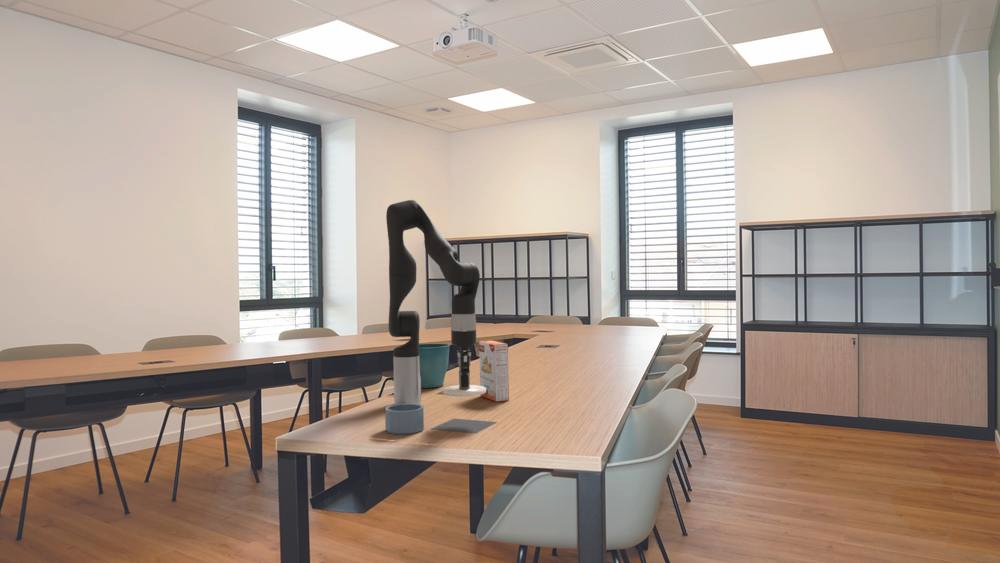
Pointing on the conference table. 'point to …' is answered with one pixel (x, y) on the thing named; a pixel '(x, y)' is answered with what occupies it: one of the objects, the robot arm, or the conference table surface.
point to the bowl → (404, 418)
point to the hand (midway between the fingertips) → (464, 385)
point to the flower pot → (433, 364)
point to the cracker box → (494, 370)
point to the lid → (464, 389)
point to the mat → (464, 425)
